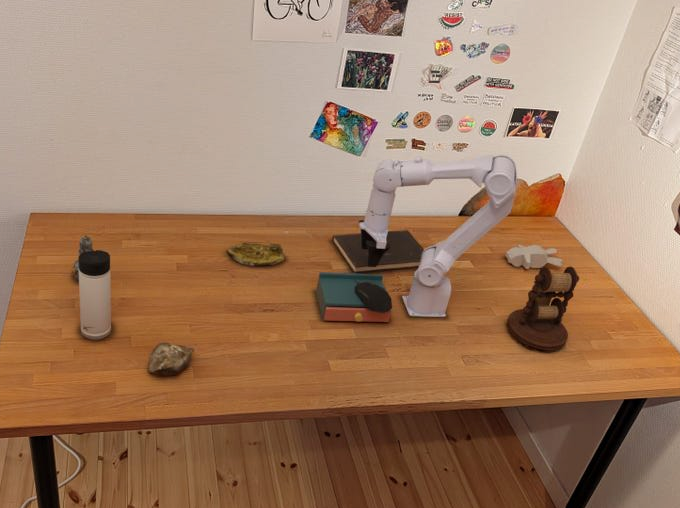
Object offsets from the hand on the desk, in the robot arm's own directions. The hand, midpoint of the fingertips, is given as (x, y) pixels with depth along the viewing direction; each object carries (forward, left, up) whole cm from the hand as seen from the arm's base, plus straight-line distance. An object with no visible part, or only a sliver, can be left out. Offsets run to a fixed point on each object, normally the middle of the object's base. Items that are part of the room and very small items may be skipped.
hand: (368, 257), depth 183 cm
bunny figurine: (-53, -16, -11) cm, 56 cm away
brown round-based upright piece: (-41, +16, -11) cm, 45 cm away
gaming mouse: (+1, +9, -6) cm, 11 cm away
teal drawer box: (+4, +7, -10) cm, 13 cm away
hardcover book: (-9, -18, -11) cm, 23 cm away
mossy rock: (+26, -14, -11) cm, 31 cm away
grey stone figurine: (+67, -2, -11) cm, 68 cm away
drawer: (+4, +8, -10) cm, 13 cm away
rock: (+47, +29, -11) cm, 56 cm away
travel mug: (+63, +18, -11) cm, 66 cm away
